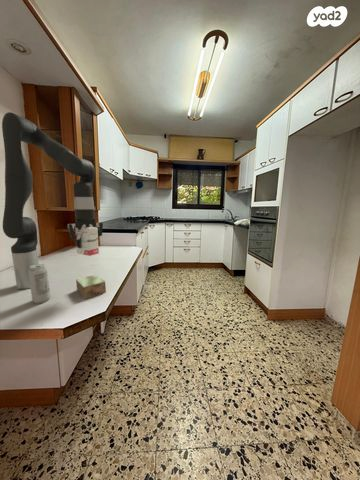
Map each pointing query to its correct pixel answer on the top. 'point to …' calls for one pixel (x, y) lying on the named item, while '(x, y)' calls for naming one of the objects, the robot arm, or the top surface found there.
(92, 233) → the ink box
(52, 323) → the top surface
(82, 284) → the stand
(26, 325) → the top surface
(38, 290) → the energy drink can
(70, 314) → the top surface
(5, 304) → the top surface
